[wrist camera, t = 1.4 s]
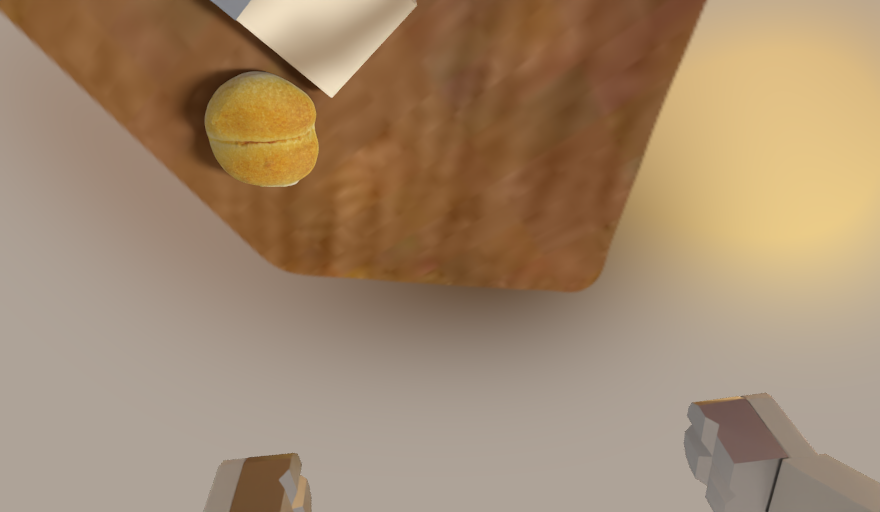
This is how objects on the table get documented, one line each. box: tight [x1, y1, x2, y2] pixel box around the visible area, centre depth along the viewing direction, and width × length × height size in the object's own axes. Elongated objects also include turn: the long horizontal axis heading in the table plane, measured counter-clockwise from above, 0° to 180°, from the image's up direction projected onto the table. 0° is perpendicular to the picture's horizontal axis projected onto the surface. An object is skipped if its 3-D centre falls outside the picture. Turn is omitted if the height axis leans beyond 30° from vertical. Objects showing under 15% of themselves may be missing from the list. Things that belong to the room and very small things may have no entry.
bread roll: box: [205, 71, 319, 187], centre depth 43 cm, size 8×9×4 cm
